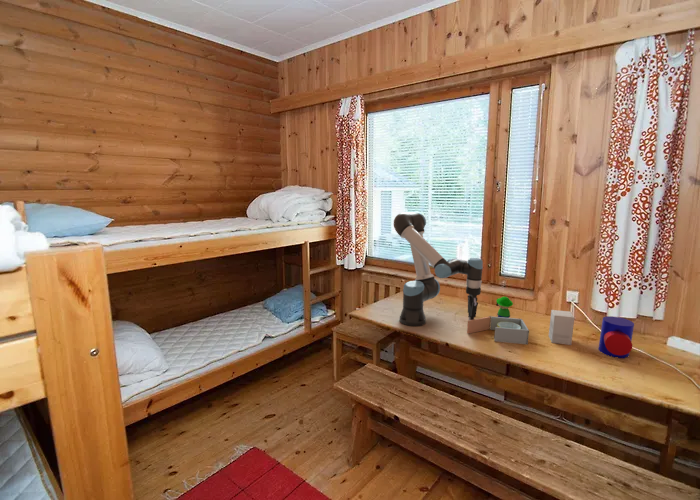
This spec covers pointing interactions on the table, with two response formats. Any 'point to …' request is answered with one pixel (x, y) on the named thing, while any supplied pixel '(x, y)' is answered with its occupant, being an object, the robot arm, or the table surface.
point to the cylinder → (616, 336)
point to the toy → (504, 307)
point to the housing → (510, 331)
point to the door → (478, 324)
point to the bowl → (508, 325)
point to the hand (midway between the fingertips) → (470, 327)
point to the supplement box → (561, 327)
